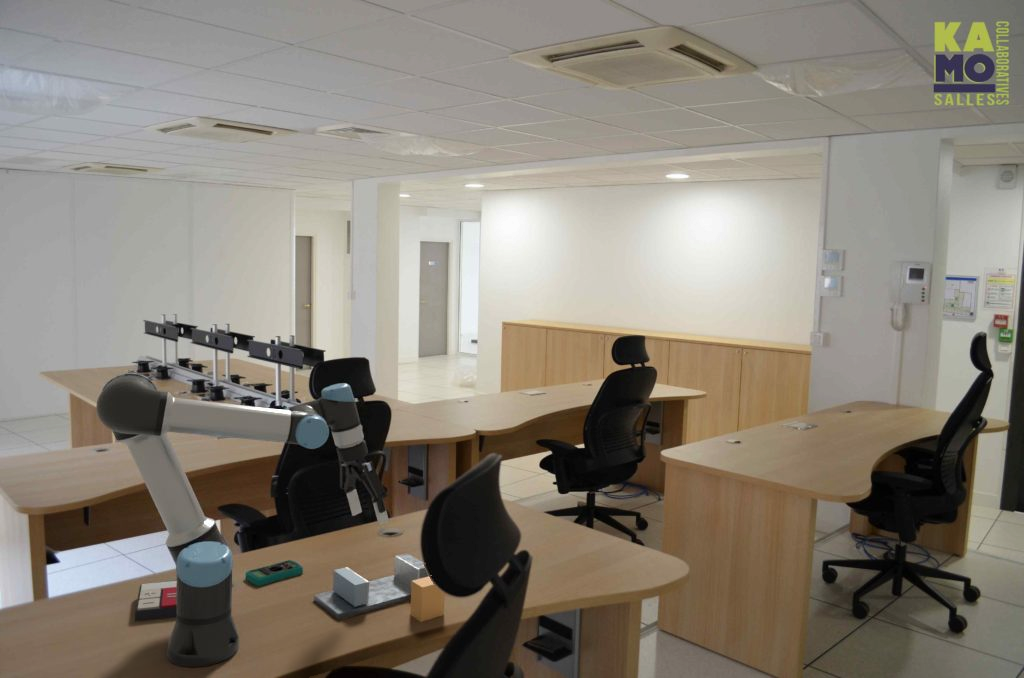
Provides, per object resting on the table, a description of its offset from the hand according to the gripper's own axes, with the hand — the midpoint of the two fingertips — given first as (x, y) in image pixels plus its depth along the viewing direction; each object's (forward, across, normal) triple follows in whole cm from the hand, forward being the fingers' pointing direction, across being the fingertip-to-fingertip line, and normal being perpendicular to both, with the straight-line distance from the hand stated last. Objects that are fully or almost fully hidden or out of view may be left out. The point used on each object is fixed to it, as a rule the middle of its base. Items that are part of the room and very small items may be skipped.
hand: (370, 518), depth 199 cm
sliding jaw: (+19, +4, +9) cm, 22 cm away
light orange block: (+26, -13, -2) cm, 29 cm away
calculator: (+9, +30, +48) cm, 57 cm away
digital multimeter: (+17, +33, +17) cm, 41 cm away
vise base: (+23, +4, +3) cm, 23 cm away
